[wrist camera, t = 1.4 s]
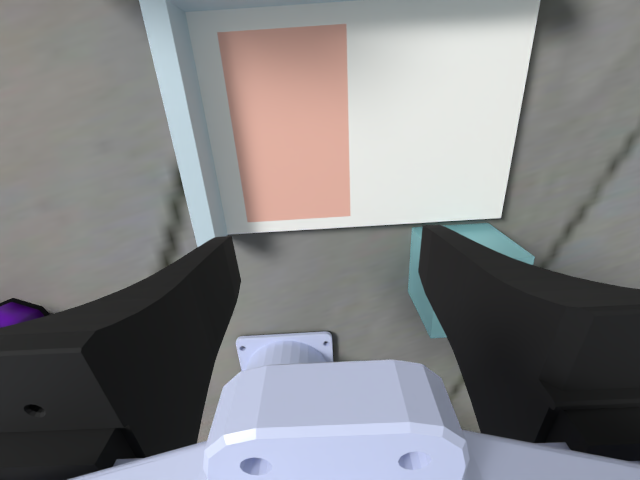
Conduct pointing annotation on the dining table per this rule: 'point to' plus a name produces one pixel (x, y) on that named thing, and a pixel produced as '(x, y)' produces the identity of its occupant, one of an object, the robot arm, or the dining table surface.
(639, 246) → the dining table surface
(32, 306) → the potion bottle
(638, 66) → the dining table surface
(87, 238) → the dining table surface
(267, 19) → the tray
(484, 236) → the cube
